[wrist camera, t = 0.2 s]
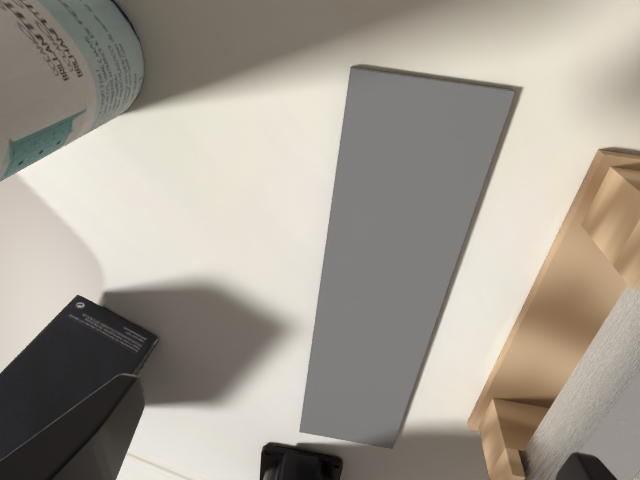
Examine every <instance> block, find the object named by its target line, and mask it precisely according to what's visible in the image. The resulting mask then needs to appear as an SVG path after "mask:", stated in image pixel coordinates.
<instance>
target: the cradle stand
mask: <svg viewBox="0 0 640 480" xmlns="http://www.w3.org/2000/svg"><path fill="white" fill-rule="evenodd" d="M627 285H628V286H629V287H630V288H631V289H632V290H639V291H640V156H638V155H631V154H624V153H618V152H611V151H604V150H598V151H597V153H596V155H595V157H594V159H593V162H592V164H591V166H590V168H589V170H588V172H587V174H586V176H585V178H584V180H583V182H582V184H581V187H580V189H579V191H578V193H577V195H576V197H575V199H574V201H573V203H572V205H571V207H570V210H569V212H568V214H567V216H566V218H565V220H564V222H563V224H562V226H561V228H560V230H559V232H558V235H557V237H556V239H555V241H554V243H553V245H552V247H551V249H550V251H549V253H548V255H547V257H546V260H545V262H544V264H543V266H542V268H541V270H540V272H539V274H538V276H537V278H536V280H535V282H534V285H533V287H532V289H531V291H530V293H529V295H528V297H527V299H526V301H525V303H524V305H523V307H522V310H521V312H520V314H519V316H518V318H517V320H516V322H515V324H514V326H513V328H512V330H511V332H510V335H509V337H508V339H507V341H506V343H505V345H504V347H503V349H502V351H501V353H500V355H499V358H498V360H497V362H496V364H495V366H494V368H493V370H492V372H491V374H490V376H489V378H488V380H487V383H486V385H485V387H484V389H483V391H482V393H481V395H480V397H479V399H478V401H477V403H476V405H475V408H474V410H473V412H472V414H471V416H470V418H469V420H468V427H469V430H473V431H479V432H480V436H481V441H482V446H483V450H484V455H485V460H486V465H487V469H488V474H489V479H490V480H524V479H525V474H524V470H523V466H522V463H521V459H520V455H521V453H522V452H523V450H524V449H525V447H526V445H527V444H528V442H529V441H530V439H531V437H532V436H533V434H534V433H535V431H536V429H537V428H538V426H539V425H540V423H541V422H542V420H543V418H544V417H545V415H546V414H547V412H548V410H549V409H550V407H551V406H552V404H553V402H554V401H555V399H556V398H557V396H558V395H559V393H560V391H561V390H562V388H563V387H564V385H565V383H566V382H567V380H568V379H569V377H570V375H571V374H572V372H573V371H574V369H575V368H576V366H577V364H578V363H579V361H580V360H581V358H582V356H583V355H584V353H585V352H586V350H587V348H588V347H589V345H590V344H591V342H592V341H593V339H594V337H595V336H596V334H597V333H598V331H599V329H600V328H601V326H602V325H603V323H604V321H605V320H606V318H607V317H608V315H609V314H610V312H611V310H612V309H613V307H614V306H615V304H616V302H617V301H618V299H619V298H620V296H621V294H622V293H623V291H624V290H625V288H626V287H627Z"/></svg>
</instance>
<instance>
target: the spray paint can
mask: <svg viewBox="0 0 640 480" xmlns="http://www.w3.org/2000/svg"><path fill="white" fill-rule="evenodd" d="M143 79H144V58H143V54H142V49H141V45H140V41H139V39H138V37H137V34H136V32H135V30H134V28H133V25H132V23H131V22H130V20H129V19H128V18H127V16H126V15H125V13H124V12H123V11H122V9H121V8H120V6H119V5H118V4H117V3H116V2H115V1H114V0H0V181H2V180H4V179H5V178H7V177H9V176H11V175H13V174H15V173H16V172H18V171H20V170H22V169H24V168H25V167H27V166H29V165H31V164H33V163H34V162H36V161H38V160H40V159H42V158H43V157H45V156H47V155H49V154H51V153H52V152H54V151H56V150H58V149H60V148H61V147H63V146H65V145H67V144H69V143H70V142H72V141H74V140H76V139H78V138H79V137H81V136H83V135H85V134H87V133H88V132H90V131H92V130H94V129H96V128H98V127H99V126H101V125H103V124H105V123H107V122H108V121H110V120H112V119H114V118H116V117H117V116H119V115H120V114H122V113H123V112H124V111H126V110H127V109H128V108H129V107H130V105H131V104H132V103H133V102H134V100H135V99H136V97H137V96H138V94H139V92H140V89H141V86H142V82H143Z"/></svg>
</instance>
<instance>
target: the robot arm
mask: <svg viewBox="0 0 640 480" xmlns="http://www.w3.org/2000/svg"><path fill="white" fill-rule="evenodd" d="M144 405H145V398H144V392H143V387H142V381H141V378H140V377H139V376H136V375H131V374H125V373H123V374H119V375H117V376H116V377H114V378H113V379H111V380H110V381H109V382H107V383H106V384H105V385H103V386H102V387H100V388H99V389H98V390H96V391H95V392H94V393H92V394H91V395H90V396H88V397H87V398H85V399H84V400H83V401H81V402H80V403H79V404H77V405H76V406H74V407H73V408H72V409H70V410H69V411H68V412H66V413H65V414H63V415H62V416H61V417H59V418H58V419H57V420H55V421H54V422H52V423H51V424H50V425H48V426H47V427H46V428H44V429H43V430H42V431H40V432H39V433H37V434H36V435H35V436H33V437H32V438H31V439H29V440H28V441H26V442H25V443H24V444H22V445H21V446H20V447H18V448H17V449H15V450H14V451H13V452H11V453H10V454H9V455H7V456H6V457H5V458H3V459H2V460H0V480H116V478H117V476H118V473H119V471H120V468H121V466H122V463H123V461H124V458H125V456H126V453H127V451H128V448H129V446H130V443H131V441H132V438H133V436H134V433H135V430H136V428H137V425H138V423H139V420H140V418H141V415H142V413H143V410H144ZM342 468H343V461H342V460H341V459H339V458H335V457H330V456H324V455H319V454H313V453H308V452H303V451H297V450H292V449H286V448H281V447H276V446H270V445H265V446H263V448H262V452H261V467H260V480H340V476H341V472H342ZM556 480H618V479H617V478H616V477H615V476H614V475H613V474H612V473H611V472H610V470H609V469H608V468H607V467H606V466H605V465H604V464H603V463H602V462H601V461H600V460H599V459H598V458H597V457H596V456H594V455H591V454H585V453H580V452H573V453H571V454H570V455H569V457H568V458H567V460H566V461H565V462H564V464H563V465H562V467H561V468H560V469H559V471H558V473H557V475H556Z"/></svg>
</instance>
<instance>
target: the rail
mask: <svg viewBox="0 0 640 480" xmlns="http://www.w3.org/2000/svg"><path fill="white" fill-rule="evenodd" d="M573 452H580V453H585V454H591V455H594V456H596V457H597V458H598V459H599V460H600V461H601V462H602V463H603V464H604V465H605V466H606V467H607V468H608V469H609V470H610V472H611V473H612V474H613V475H614V476H615V477H616V478H617V479H618V480H632V479H633V478H634V477H635V476H636V475H637V474H638V473H639V472H640V291H639V290H632V289H631V288H630V287H629V286H628V285H627V287H626V288H625V290H624V291H623V293H622V294H621V296H620V298H619V299H618V301H617V302H616V304H615V306H614V307H613V309H612V310H611V312H610V314H609V315H608V317H607V318H606V320H605V321H604V323H603V325H602V326H601V328H600V329H599V331H598V333H597V334H596V336H595V337H594V339H593V341H592V342H591V344H590V345H589V347H588V348H587V350H586V352H585V353H584V355H583V356H582V358H581V360H580V361H579V363H578V364H577V366H576V368H575V369H574V371H573V372H572V374H571V375H570V377H569V379H568V380H567V382H566V383H565V385H564V387H563V388H562V390H561V391H560V393H559V395H558V396H557V398H556V399H555V401H554V402H553V404H552V406H551V407H550V409H549V410H548V412H547V414H546V415H545V417H544V418H543V420H542V422H541V423H540V425H539V426H538V428H537V429H536V431H535V433H534V434H533V436H532V437H531V439H530V441H529V442H528V444H527V445H526V447H525V449H524V450H523V452H522V453H521V455H520V459H521V463H522V466H523V470H524V474H525V479H524V480H556V475H557V473H558V471H559V469H560V468H561V467H562V465H563V464H564V462H565V461H566V460H567V458H568V457H569V455H570V454H571V453H573Z"/></svg>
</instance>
